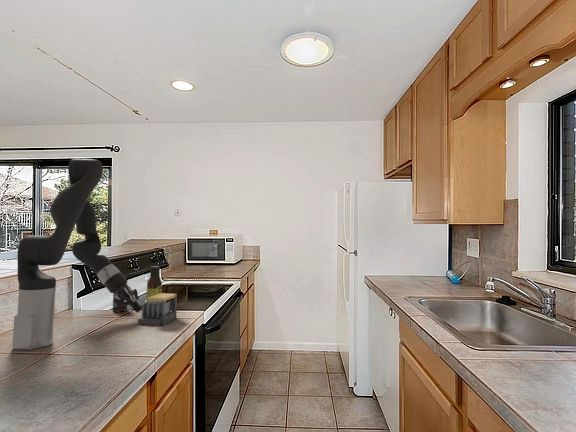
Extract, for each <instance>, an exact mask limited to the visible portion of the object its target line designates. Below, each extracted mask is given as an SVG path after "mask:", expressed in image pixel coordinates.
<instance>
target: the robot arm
mask: <svg viewBox="0 0 576 432" xmlns="http://www.w3.org/2000/svg"><path fill="white" fill-rule="evenodd" d="M67 171H68V172H67V173H68V180H69V184H70V185H69V186H66V187H65V188H63V189H62V190H61V191H59V193H58V194H57V195H56V196H55V198H54V200H53V201H52V203H51V206H50V209H49V210H50V212H49V213H50V215H51V217H52V220H53V222H54V224H55V229H54V232H53V233H51V235H25V236H24V237H22V238H21V239H20V241H19V243H18V247H17V281H18V295H17V297H18V299H17V311H16V312H17V315H15V316H14V317H13V327H12V328H13V331H12V347H11V349H12V350H13V349H14V350H25V351H26V350H28V351H31V350H36V349H39V348H44V347H47V346H49V345H52V344H53V343H54V326H55V325H54V324H55V307H56V289H57V286H56V285H57V279H56V277H54V276H52V275H49V274H46V273H45V272H43V271H42V270H40V268H39V266H43V267H44V266H45V267H46V266H56V265H57V264H59V263H60V262H61V260H62V258H63V257H64V254H65V253H66V250H67V246H68V243H69V241H70V238H71V235H72V233H73V230H74V228H75V229H76V230H75V231H76V233H77V234H78V235H84V238H85V239H83V240H80V241H79V240H78V241H76V242H74V243H73V245H72V248H71V251H72V254H73V256H74V257H75V258H76V259H77V261H79V262H81V263H82V264H83V265H85V266H87V267H88V268H90V269H91V270H92V272H93V273H94V274H95V275H96V276H97V277H98V279H99V281H100V283H102V285H103V286H104V287H105V288H106V289H107V290H108V292H109V293H111V294H113V293H115V295H116V296H115V297H114V300H116V301H118V302H120V303H122V304H124V305H125V306H127V305H128V306H129V307H131V308H132V309H133V310H134V312H135V313H139V312H142V305H140V304H139V302H138V300H139V299H140V298H139V297H140V296H139V294H138V293H139V292H138V290H137V289H136V288H135V289H132V288H131V287H130V286H129V285H128V279H127V278H126V277H125V276H124V274H122V272H121V271H120V269H119V268H118V267H116V266H115V265H114V264H113V263H112V262H111V260H110V259H109V257H108V256H106V255H103V254H99V253H100V252H101V249H102V242H101V239H100V236H99V233H98V230H97V213H96V211H95V209H94V206H93V205H92V204H91V202H90V201H89V198H90V196H91V195H92V193H93V191H94V190H95V188H96V187H97V185H98V184H99V183H100V181H101V179H102V177H103V173H104V172H103V171H104V167H103V163H102V162H101V161H100V160H98V159H93V158H72V159H71V160H70V161H69V162H68V168H67Z"/></svg>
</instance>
